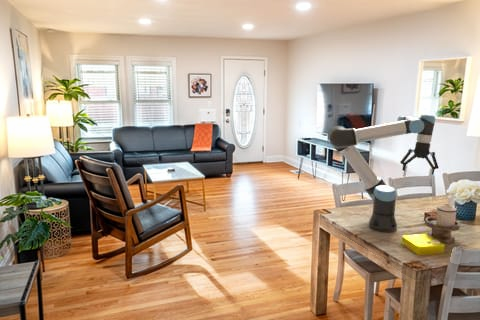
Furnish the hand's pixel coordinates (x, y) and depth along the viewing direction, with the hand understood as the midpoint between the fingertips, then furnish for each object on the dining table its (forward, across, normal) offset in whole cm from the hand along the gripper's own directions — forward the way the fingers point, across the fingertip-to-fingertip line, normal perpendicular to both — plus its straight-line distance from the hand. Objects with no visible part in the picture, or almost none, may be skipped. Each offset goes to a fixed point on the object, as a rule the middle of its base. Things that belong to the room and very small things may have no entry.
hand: (416, 178), depth 218 cm
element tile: (+29, 0, +36) cm, 47 cm away
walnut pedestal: (+27, -12, +21) cm, 36 cm away
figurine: (+23, -28, -25) cm, 44 cm away
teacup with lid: (+19, -12, +22) cm, 31 cm away
